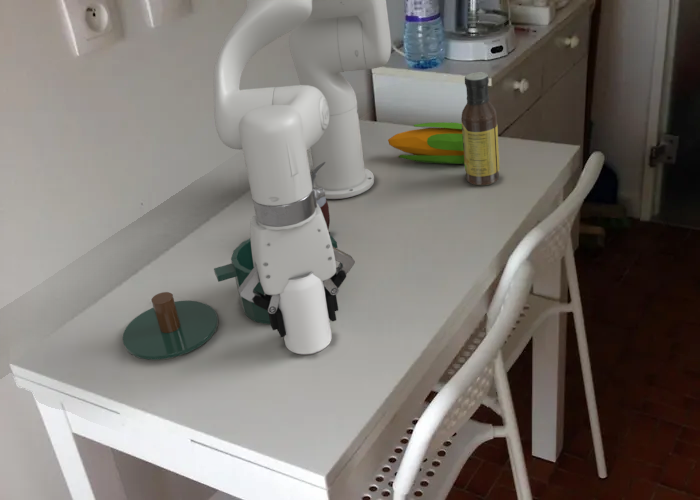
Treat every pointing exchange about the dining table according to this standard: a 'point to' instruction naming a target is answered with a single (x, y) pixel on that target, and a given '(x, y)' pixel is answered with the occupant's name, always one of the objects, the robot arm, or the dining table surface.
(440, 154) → the corn
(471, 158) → the sauce bottle
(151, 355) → the pot lid
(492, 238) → the dining table surface
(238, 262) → the pot
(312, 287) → the can
